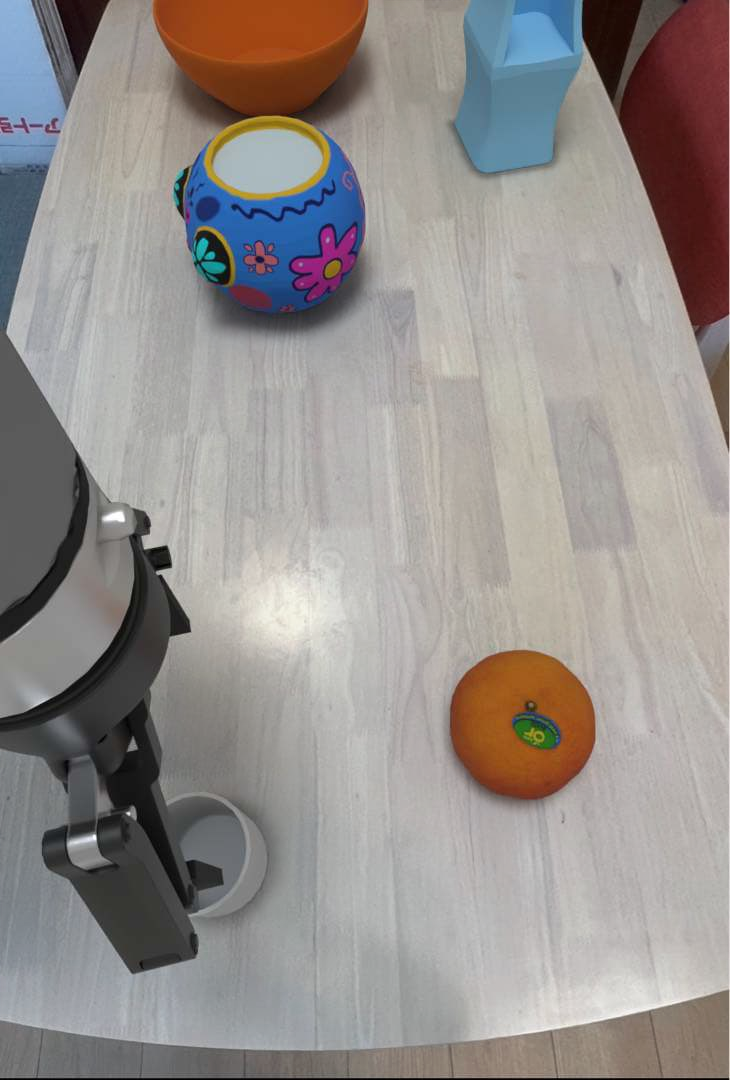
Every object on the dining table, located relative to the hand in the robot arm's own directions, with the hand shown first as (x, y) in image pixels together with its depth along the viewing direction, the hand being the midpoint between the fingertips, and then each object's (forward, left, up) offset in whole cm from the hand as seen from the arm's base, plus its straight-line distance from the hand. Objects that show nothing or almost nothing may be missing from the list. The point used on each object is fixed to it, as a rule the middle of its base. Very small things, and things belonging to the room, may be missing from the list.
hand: (180, 748), depth 40 cm
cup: (-3, -4, -18) cm, 19 cm away
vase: (+48, +64, -18) cm, 82 cm away
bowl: (+24, +84, -18) cm, 89 cm away
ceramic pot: (+17, +50, -18) cm, 56 cm away
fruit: (+22, -2, -18) cm, 28 cm away
